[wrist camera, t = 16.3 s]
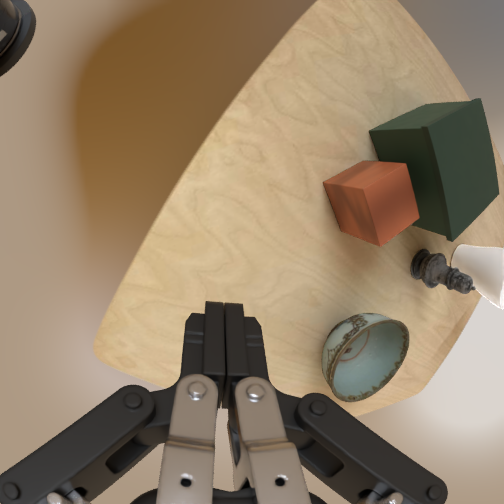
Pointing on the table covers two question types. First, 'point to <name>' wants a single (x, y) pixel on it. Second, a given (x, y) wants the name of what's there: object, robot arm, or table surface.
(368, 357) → the bowl
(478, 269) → the cup
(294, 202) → the table surface
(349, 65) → the table surface
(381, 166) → the block
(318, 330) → the table surface
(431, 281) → the dark grey chess piece
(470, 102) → the box
